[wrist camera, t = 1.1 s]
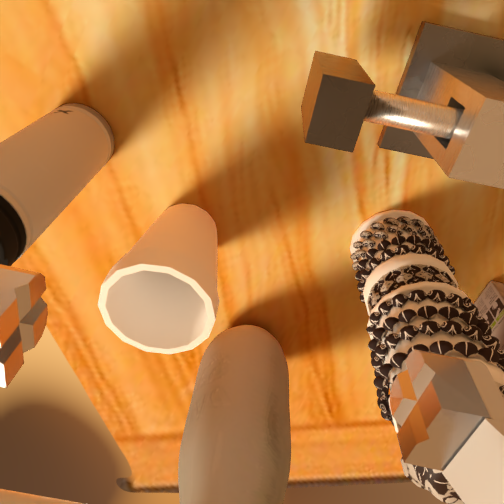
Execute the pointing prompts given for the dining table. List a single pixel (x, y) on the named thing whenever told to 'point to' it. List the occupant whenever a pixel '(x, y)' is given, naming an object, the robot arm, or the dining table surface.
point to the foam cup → (166, 284)
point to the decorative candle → (416, 313)
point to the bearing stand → (457, 102)
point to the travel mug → (47, 172)
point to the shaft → (362, 106)
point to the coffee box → (493, 309)
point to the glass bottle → (238, 423)
